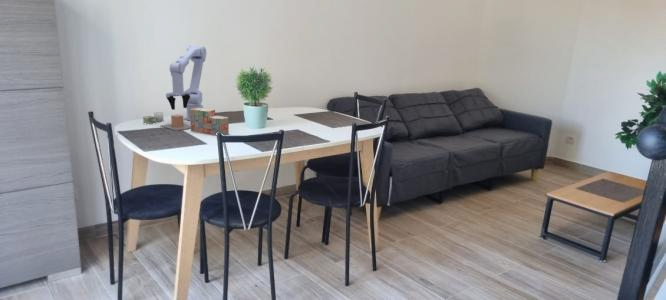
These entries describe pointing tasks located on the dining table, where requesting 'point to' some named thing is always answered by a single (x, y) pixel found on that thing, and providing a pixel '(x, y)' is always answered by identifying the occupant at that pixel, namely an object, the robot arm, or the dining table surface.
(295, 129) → the dining table surface
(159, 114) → the grey cylinder
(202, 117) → the stack of blocks
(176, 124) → the terracotta block
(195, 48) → the robot arm
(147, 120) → the sage block
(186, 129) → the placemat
